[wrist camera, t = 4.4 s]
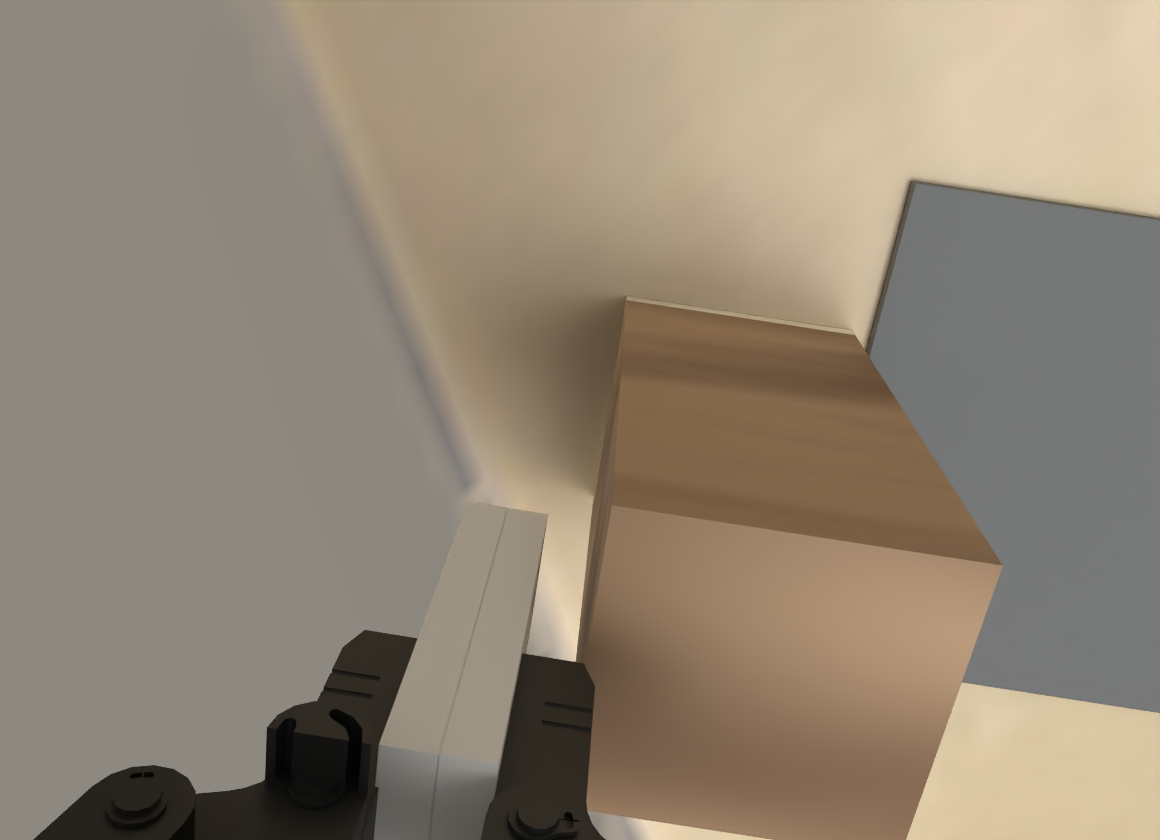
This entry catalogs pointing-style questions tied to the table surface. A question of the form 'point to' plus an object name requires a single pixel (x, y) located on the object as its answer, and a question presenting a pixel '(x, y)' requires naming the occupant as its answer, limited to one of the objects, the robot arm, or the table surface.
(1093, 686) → the mat
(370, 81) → the table surface
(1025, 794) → the table surface
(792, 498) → the walnut block
